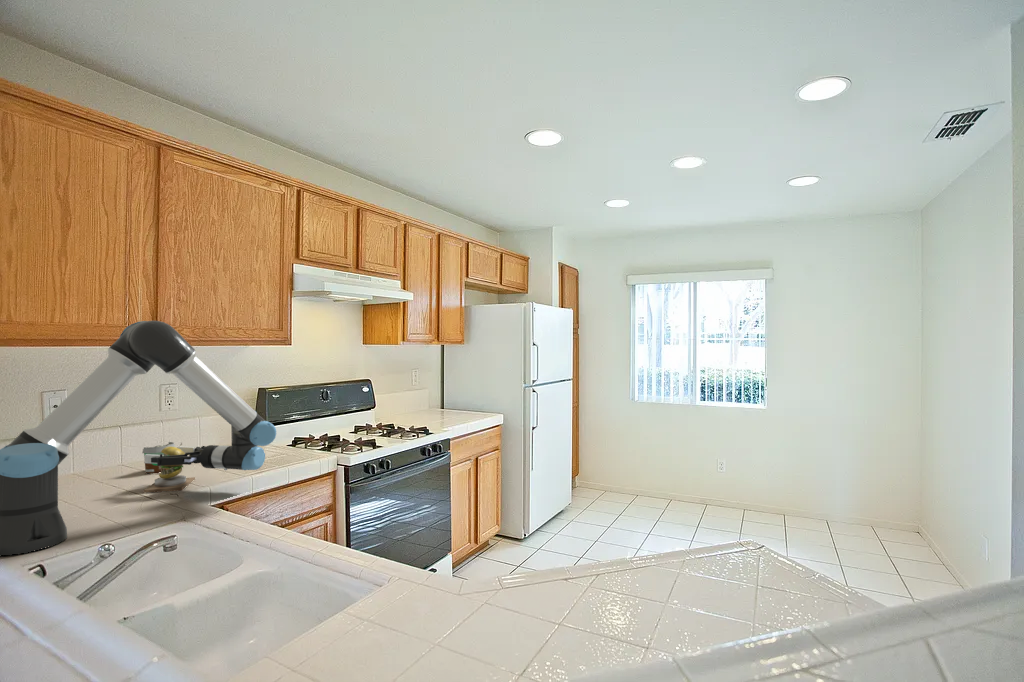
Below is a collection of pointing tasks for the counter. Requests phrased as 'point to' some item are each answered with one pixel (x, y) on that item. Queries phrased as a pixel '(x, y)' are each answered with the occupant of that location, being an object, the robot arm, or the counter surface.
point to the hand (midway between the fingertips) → (162, 454)
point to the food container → (155, 451)
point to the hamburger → (175, 468)
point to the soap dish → (170, 484)
